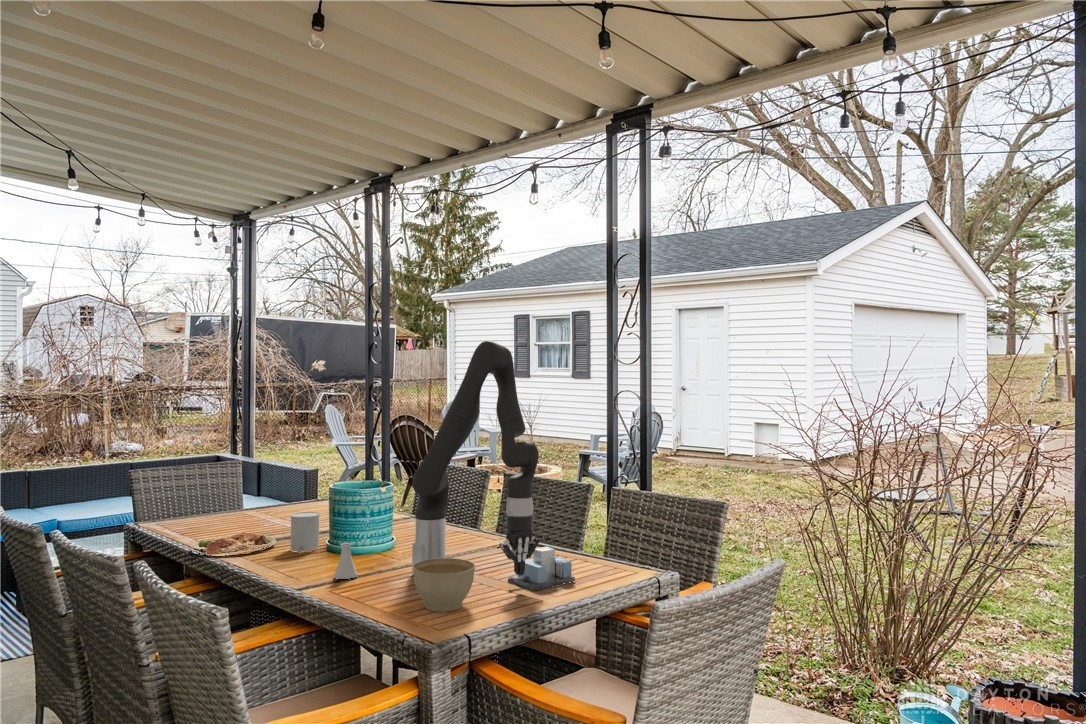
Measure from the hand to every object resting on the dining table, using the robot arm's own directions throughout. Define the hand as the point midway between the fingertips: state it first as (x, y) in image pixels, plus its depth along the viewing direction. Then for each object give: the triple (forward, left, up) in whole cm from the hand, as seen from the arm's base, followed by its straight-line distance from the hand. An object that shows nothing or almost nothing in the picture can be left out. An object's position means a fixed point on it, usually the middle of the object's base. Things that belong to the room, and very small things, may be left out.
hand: (519, 574), depth 203 cm
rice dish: (-51, +101, -5) cm, 113 cm away
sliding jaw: (+3, +3, -3) cm, 5 cm away
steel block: (+11, +3, -3) cm, 12 cm away
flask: (-34, +42, -5) cm, 54 cm away
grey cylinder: (-32, +84, -5) cm, 90 cm away
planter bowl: (-24, 0, -5) cm, 25 cm away
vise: (+10, +3, -5) cm, 12 cm away
